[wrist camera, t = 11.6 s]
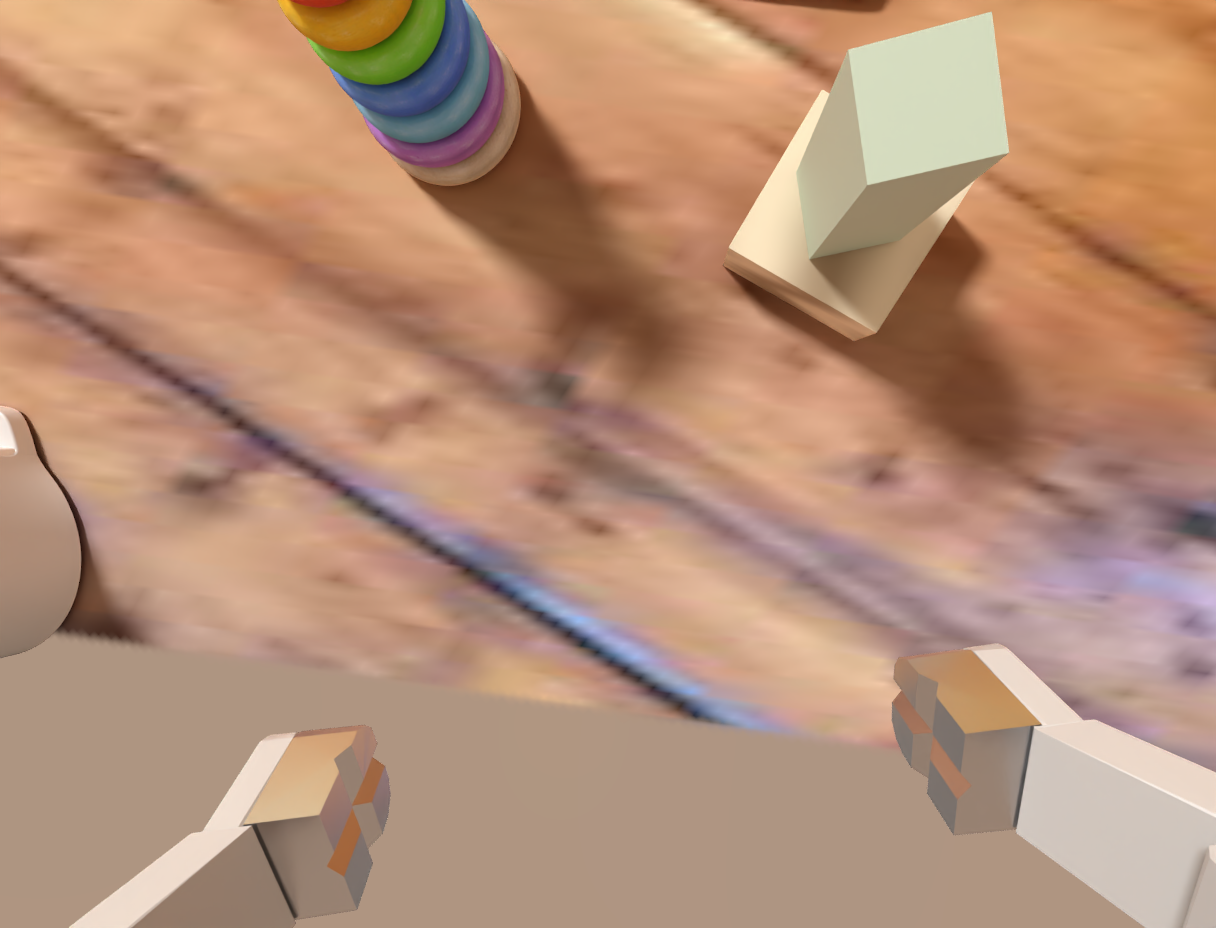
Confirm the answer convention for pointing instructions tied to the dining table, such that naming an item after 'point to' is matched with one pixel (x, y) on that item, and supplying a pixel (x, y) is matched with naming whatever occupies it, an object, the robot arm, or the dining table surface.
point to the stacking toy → (419, 80)
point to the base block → (835, 284)
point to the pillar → (902, 135)
